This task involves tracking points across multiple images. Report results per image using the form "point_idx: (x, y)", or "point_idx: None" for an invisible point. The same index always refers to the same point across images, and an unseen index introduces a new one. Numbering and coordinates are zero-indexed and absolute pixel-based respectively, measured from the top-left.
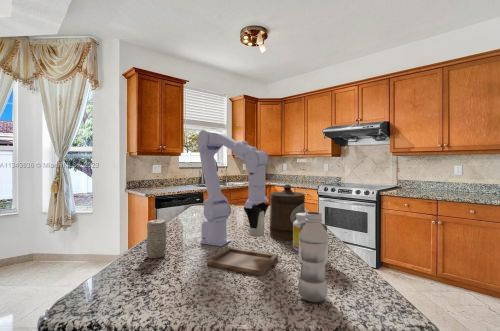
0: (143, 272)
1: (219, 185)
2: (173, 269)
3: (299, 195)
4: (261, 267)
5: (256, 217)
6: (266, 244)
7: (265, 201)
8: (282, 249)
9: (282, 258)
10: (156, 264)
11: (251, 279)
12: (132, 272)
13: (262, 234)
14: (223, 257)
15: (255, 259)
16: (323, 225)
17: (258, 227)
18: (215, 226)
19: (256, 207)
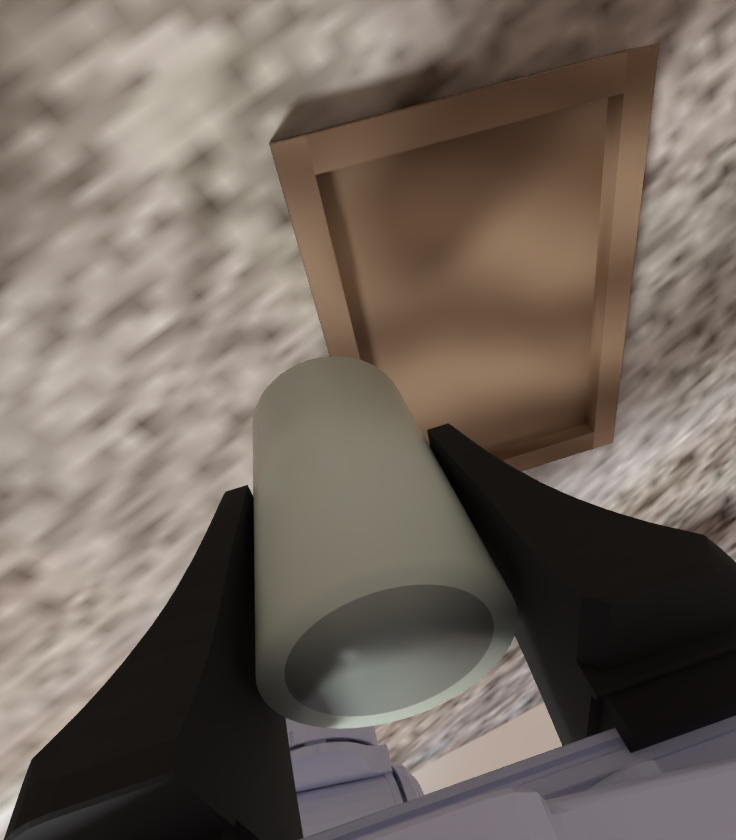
0: (720, 527)
1: None
2: (672, 488)
3: None
4: (595, 97)
5: (557, 493)
6: (51, 438)
7: (552, 823)
8: (15, 259)
9: (214, 118)
10: None
11: (686, 95)
12: (727, 546)
13: (338, 364)
14: (491, 442)
15: (419, 276)
16: None
17: (408, 424)
18: None
19: (601, 673)
